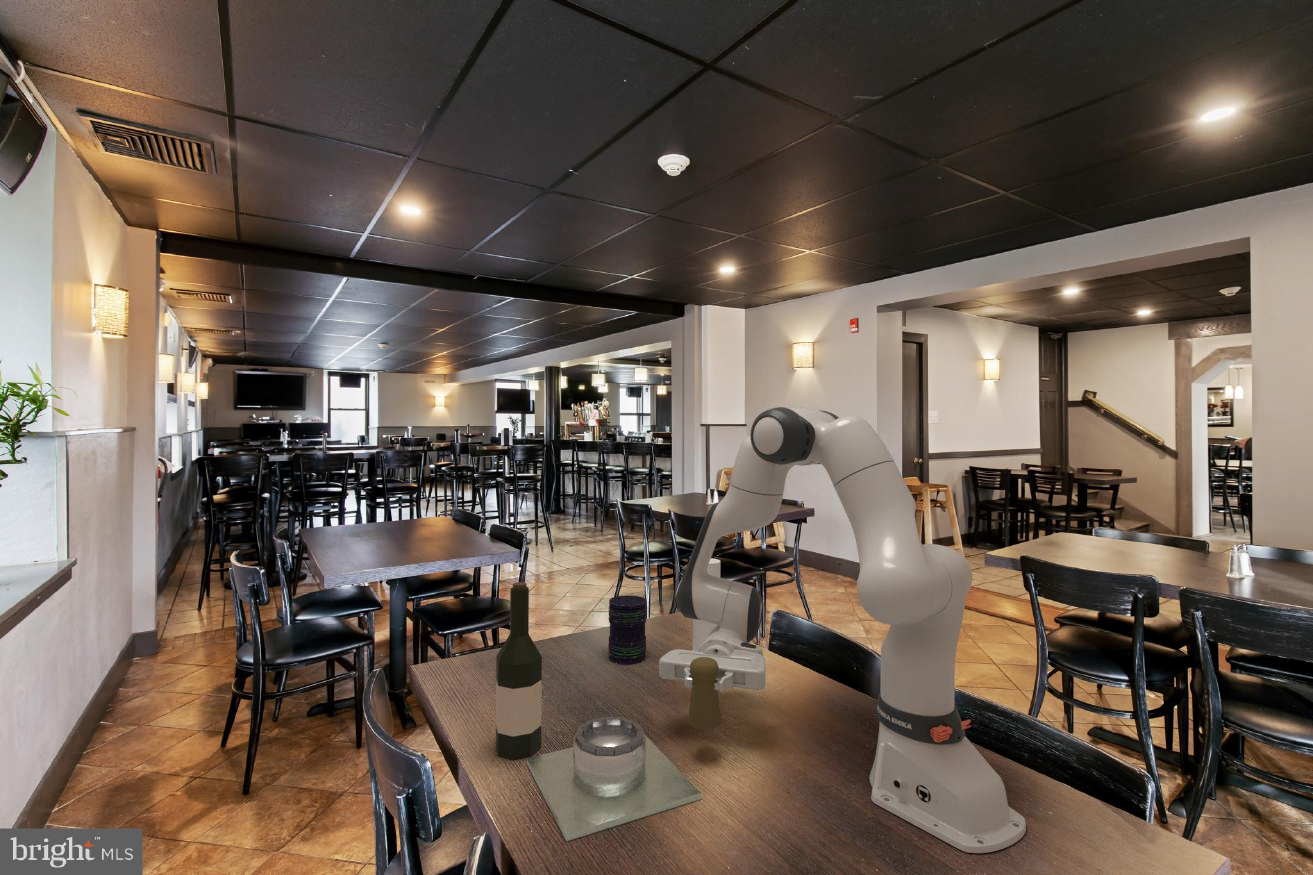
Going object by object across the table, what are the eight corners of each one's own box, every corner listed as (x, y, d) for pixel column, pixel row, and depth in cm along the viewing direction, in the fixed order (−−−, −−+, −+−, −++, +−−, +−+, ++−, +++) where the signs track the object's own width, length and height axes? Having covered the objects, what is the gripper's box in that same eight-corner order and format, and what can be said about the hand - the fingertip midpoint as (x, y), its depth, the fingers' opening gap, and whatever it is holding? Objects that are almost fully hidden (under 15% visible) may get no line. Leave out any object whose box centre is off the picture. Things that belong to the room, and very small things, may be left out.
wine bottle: (525, 731, 113) (527, 576, 113) (550, 748, 107) (551, 583, 108) (486, 747, 107) (487, 583, 108) (510, 765, 101) (511, 591, 102)
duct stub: (700, 799, 92) (701, 748, 92) (566, 841, 82) (566, 784, 82) (641, 735, 112) (641, 693, 112) (526, 763, 102) (527, 717, 102)
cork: (721, 730, 102) (720, 666, 102) (686, 727, 103) (685, 664, 103) (722, 714, 108) (721, 653, 108) (689, 712, 108) (689, 652, 109)
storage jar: (654, 657, 153) (654, 599, 153) (627, 668, 145) (628, 607, 145) (626, 648, 159) (627, 593, 159) (600, 658, 152) (600, 600, 152)
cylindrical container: (724, 654, 155) (725, 560, 155) (712, 663, 149) (712, 564, 149) (700, 649, 159) (701, 557, 159) (687, 657, 152) (688, 561, 153)
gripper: (669, 637, 121) (647, 661, 108) (770, 647, 114) (760, 673, 101) (670, 668, 121) (648, 695, 107) (770, 679, 114) (760, 710, 101)
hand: (703, 685), depth 104 cm, fingers closed on cork, 4 cm apart
